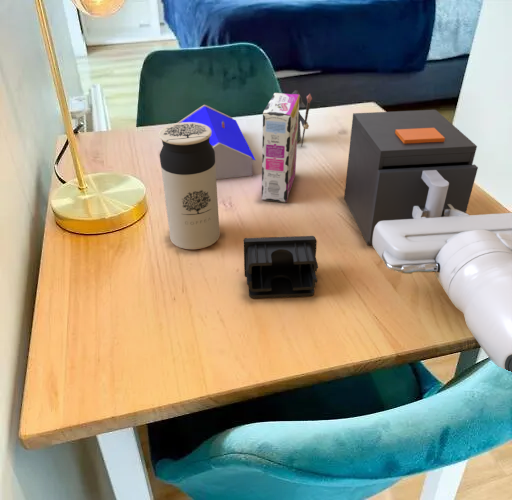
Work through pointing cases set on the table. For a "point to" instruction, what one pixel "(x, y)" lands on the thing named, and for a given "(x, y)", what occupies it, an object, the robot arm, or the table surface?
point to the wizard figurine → (300, 118)
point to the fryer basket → (420, 191)
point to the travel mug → (190, 184)
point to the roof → (225, 142)
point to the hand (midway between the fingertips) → (430, 209)
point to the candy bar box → (279, 146)
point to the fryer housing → (397, 152)
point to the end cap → (280, 266)
